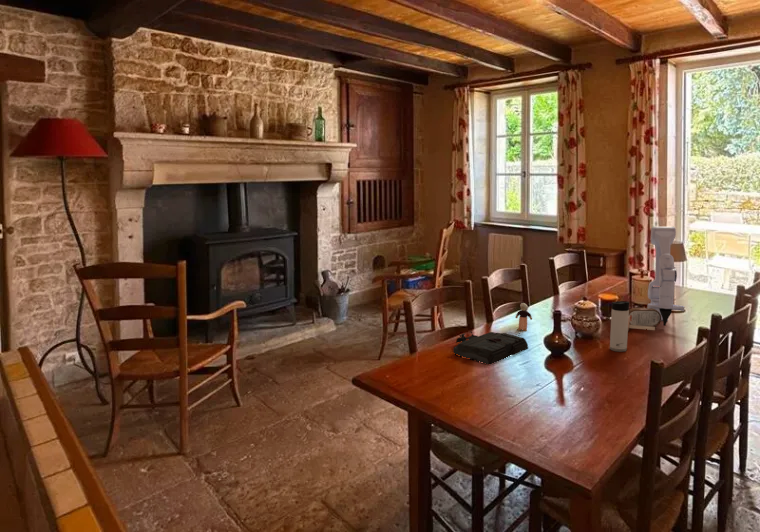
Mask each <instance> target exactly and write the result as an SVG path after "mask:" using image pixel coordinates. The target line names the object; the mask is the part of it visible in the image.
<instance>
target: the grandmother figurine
mask: <svg viewBox="0 0 760 532" xmlns="http://www.w3.org/2000/svg"><path fill="white" fill-rule="evenodd" d="M519 306H520V310H519V311H517V313H516V314H515V319H518V327H517V328H516V330H517V331H522V330H523V332H528V318H529V320H530V321H531V320H533V317H532V314H531V313H530V312H529V311H527V309H529V306H528V305H527V304H526V303H525V302H521V303H520V305H519ZM518 317H519V318H518Z"/></svg>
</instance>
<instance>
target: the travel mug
mask: <svg viewBox="0 0 760 532" xmlns="http://www.w3.org/2000/svg"><path fill="white" fill-rule="evenodd" d="M629 308H630V302H629V301H623V300H620V301H615V302H611V312H610V313H611V318H610V319H611V320H610V333H609V335H610V336H609V337H610V338H609V350H611V351H613V352H618V353H621V352H622V353H623V352H624V353H625V352H627V349H628V332H629V331H628V318H629Z"/></svg>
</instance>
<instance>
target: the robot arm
mask: <svg viewBox="0 0 760 532" xmlns="http://www.w3.org/2000/svg"><path fill="white" fill-rule="evenodd" d="M676 230H677V229H676V227H675V226H673V225H672V226H654V225H653V226H652V227H651V230H650V244H651V245H653V246H654V247H655V248H654V249H655V266H654V267H655V270H654V280H652V281H650V282H649V284H648V288H647V298H648V300H650V303H647V307H646V308H648V309H650V308H652V309H656V310H657V311H658V312H659V313H660V315H661V321H662V323H663V324H662V325H663V326H665V327H666V326H667V323H668V321H669V317H670V316H671V315H672V313H673V311H681V312H685V306H684V305H679V304H674V300H675V299H674V298H675V285H676V284H675V283H676V281H677V278H678V272H677V269H676V266H675V259H674V256H673V255H672V254H671V246H672V244H673V243H674V241H675V239H676V235H677V231H676Z"/></svg>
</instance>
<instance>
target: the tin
mask: <svg viewBox="0 0 760 532" xmlns="http://www.w3.org/2000/svg"><path fill="white" fill-rule="evenodd" d="M629 317H630V320H629V325H640V326H651V327H657V326H658V325H660V323H661V321H662V320H661V315H660V313H659V312H658V311H657V310H656V309H652V308H650V309H648V308H647V307H633V308H630V309H629Z"/></svg>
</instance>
